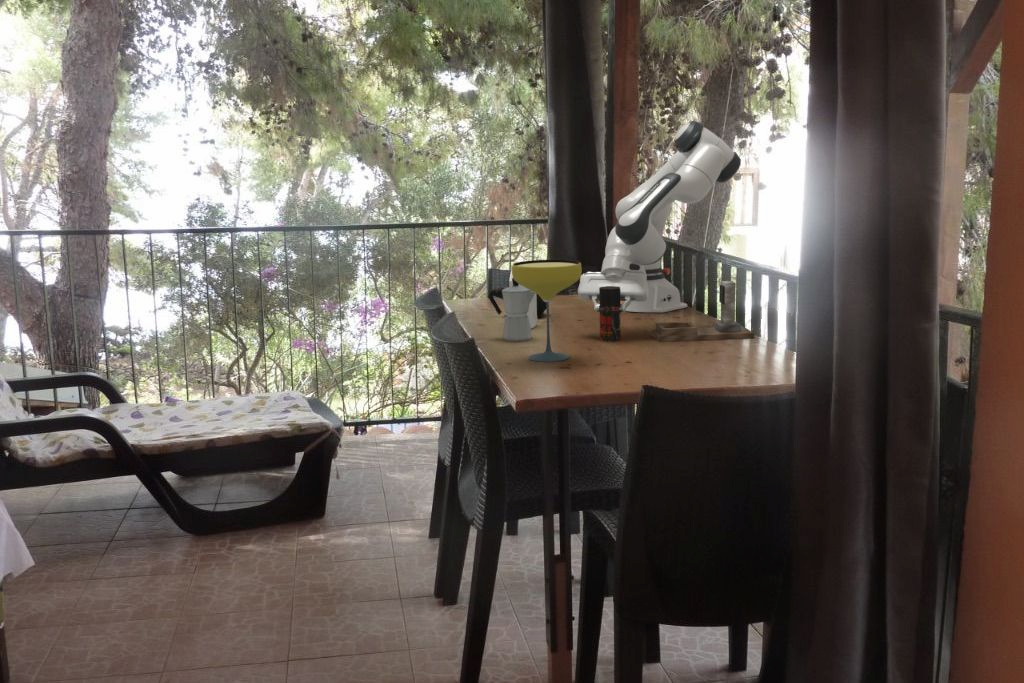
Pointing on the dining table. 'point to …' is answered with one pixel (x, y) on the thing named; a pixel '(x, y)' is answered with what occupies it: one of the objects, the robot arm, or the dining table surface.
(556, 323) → the dining table surface
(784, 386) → the dining table surface
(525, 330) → the coffee maker
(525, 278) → the cocktail glass
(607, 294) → the deodorant
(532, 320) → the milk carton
